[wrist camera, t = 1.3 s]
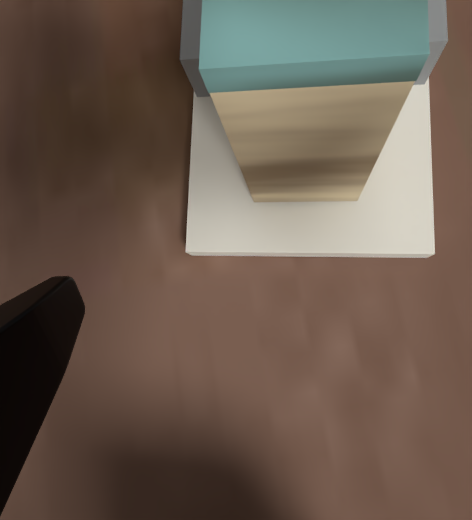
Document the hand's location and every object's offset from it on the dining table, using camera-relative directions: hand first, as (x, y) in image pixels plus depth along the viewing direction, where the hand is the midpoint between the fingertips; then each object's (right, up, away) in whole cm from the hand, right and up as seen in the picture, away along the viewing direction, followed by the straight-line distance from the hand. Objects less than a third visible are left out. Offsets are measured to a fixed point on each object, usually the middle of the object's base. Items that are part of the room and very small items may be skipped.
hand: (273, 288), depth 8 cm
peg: (+3, +6, +11) cm, 13 cm away
